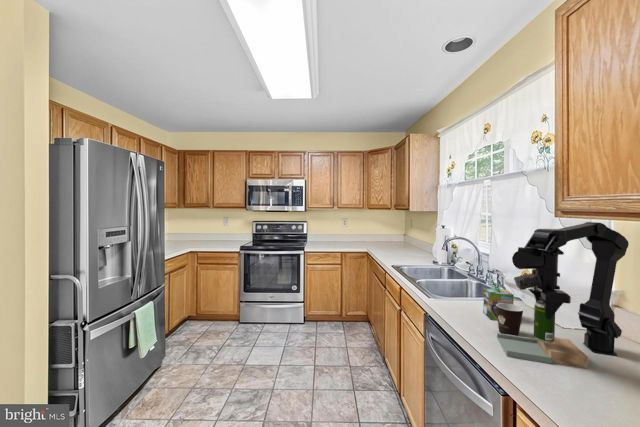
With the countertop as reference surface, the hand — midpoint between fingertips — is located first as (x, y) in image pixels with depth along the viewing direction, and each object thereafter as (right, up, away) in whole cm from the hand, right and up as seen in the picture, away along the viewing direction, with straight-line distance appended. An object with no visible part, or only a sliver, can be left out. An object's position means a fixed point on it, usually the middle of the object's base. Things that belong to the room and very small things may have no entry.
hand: (544, 315), depth 94 cm
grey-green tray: (-5, -13, +4) cm, 14 cm away
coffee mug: (0, -13, +18) cm, 22 cm away
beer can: (0, -8, 0) cm, 8 cm away
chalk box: (+5, -12, +33) cm, 36 cm away
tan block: (+5, -13, 0) cm, 14 cm away
